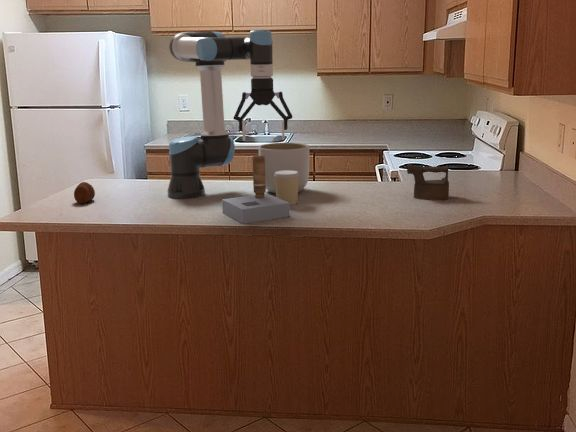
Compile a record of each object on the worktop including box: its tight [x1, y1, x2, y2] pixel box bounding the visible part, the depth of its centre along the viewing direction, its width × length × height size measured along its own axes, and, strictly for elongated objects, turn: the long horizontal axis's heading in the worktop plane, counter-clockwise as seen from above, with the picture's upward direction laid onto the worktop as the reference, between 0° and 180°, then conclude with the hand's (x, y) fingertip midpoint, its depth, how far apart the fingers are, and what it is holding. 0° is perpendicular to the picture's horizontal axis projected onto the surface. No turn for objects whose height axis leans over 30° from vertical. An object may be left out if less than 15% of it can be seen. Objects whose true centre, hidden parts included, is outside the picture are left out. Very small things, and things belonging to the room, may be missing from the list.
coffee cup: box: [274, 170, 299, 206], centre depth 243 cm, size 9×9×12 cm
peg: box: [251, 155, 267, 198], centre depth 230 cm, size 5×5×15 cm
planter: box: [258, 142, 310, 195], centre depth 262 cm, size 21×21×19 cm
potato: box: [73, 181, 96, 205], centre depth 253 cm, size 8×12×8 cm, turn 0°
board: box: [221, 193, 291, 225], centre depth 227 cm, size 18×18×5 cm
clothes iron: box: [406, 163, 450, 201], centre depth 246 cm, size 8×16×13 cm, turn 87°
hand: (263, 139), depth 221 cm, fingers open, 13 cm apart
